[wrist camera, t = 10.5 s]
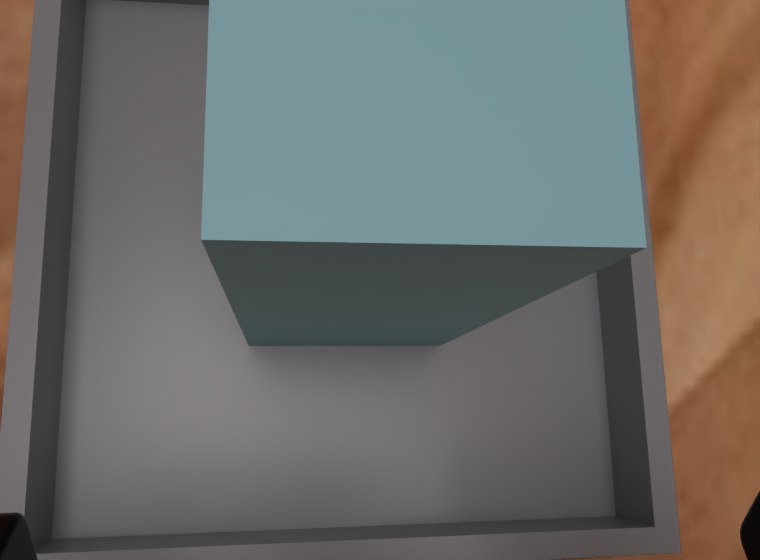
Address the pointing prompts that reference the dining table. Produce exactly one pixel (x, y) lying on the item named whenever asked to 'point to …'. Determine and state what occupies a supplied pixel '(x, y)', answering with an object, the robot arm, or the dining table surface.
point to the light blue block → (413, 162)
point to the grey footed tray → (286, 362)
